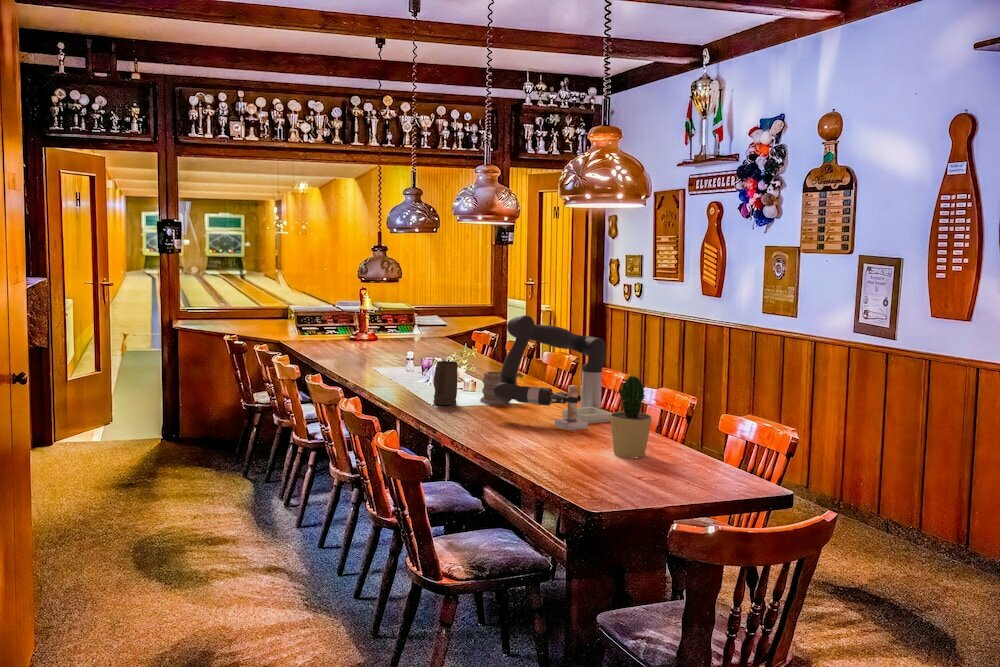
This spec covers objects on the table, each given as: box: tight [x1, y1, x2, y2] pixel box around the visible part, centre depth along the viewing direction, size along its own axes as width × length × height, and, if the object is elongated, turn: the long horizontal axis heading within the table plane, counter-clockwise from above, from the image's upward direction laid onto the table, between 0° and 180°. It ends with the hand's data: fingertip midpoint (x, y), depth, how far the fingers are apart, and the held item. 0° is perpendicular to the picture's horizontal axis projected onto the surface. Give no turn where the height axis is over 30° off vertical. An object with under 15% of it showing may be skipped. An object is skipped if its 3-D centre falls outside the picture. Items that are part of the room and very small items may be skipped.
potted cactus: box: [610, 374, 653, 459], centre depth 344 cm, size 15×15×30 cm
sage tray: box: [562, 407, 612, 424], centre depth 409 cm, size 16×16×4 cm
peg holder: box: [554, 417, 589, 431], centre depth 391 cm, size 10×10×3 cm
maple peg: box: [566, 384, 579, 420], centre depth 390 cm, size 4×4×14 cm
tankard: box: [480, 370, 524, 405], centre depth 442 cm, size 20×13×15 cm, turn 73°
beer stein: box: [432, 360, 459, 406], centre depth 431 cm, size 15×11×20 cm
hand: (578, 399), depth 389 cm, fingers closed on maple peg, 4 cm apart
